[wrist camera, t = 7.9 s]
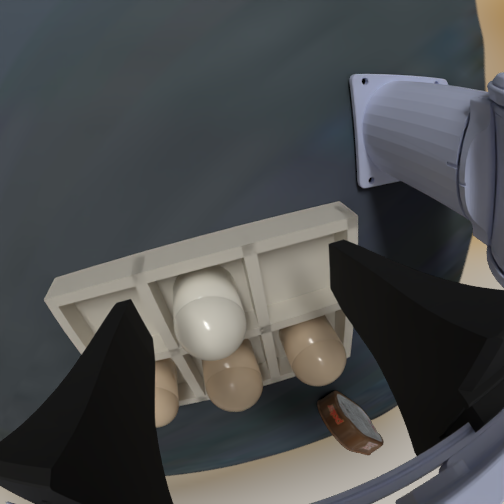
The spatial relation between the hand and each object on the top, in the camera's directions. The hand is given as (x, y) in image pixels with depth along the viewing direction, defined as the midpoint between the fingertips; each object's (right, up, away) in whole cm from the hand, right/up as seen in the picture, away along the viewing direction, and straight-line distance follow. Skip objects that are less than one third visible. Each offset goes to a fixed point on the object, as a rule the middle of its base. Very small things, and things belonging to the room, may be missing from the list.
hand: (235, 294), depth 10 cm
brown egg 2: (+5, -5, +15) cm, 16 cm away
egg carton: (-2, -4, +13) cm, 13 cm away
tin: (+13, -19, +26) cm, 34 cm away
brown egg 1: (-8, -9, +13) cm, 18 cm away
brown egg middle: (-2, -7, +14) cm, 16 cm away
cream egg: (-3, -1, +10) cm, 11 cm away
